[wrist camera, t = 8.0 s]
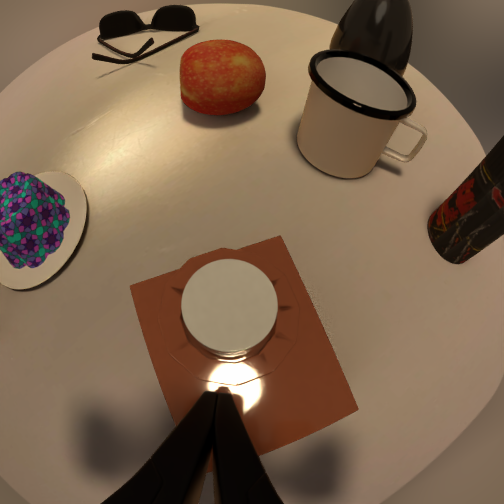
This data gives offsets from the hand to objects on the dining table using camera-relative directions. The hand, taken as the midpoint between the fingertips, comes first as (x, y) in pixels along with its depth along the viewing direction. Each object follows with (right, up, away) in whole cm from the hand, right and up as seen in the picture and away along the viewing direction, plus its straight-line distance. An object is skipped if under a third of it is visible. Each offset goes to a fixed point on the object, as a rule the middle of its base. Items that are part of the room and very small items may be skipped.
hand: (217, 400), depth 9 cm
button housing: (0, -3, +12) cm, 12 cm away
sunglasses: (-15, +34, +26) cm, 45 cm away
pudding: (-19, +7, +14) cm, 24 cm away
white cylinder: (0, +1, +7) cm, 7 cm away
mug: (+11, +15, +20) cm, 27 cm away
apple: (-2, +20, +22) cm, 30 cm away
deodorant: (+21, +6, +17) cm, 28 cm away
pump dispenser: (+16, +28, +27) cm, 42 cm away
